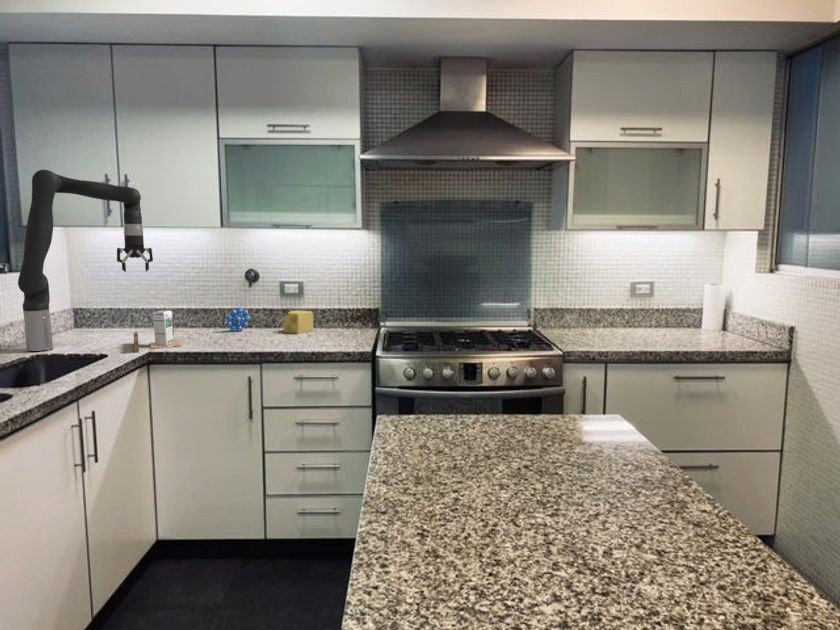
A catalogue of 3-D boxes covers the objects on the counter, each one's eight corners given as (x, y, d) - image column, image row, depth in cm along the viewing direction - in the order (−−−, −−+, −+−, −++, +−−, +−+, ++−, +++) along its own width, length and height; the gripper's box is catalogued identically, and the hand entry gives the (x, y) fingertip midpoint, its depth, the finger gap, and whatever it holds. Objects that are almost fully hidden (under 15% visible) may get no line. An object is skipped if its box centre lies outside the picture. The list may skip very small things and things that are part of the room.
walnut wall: (139, 352, 242) (138, 340, 241) (134, 352, 241) (133, 340, 241) (138, 343, 262) (137, 332, 261) (134, 343, 261) (133, 332, 260)
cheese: (283, 332, 286) (282, 312, 285) (299, 329, 295) (298, 309, 294) (298, 334, 281) (297, 313, 279) (314, 331, 289) (313, 311, 288)
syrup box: (166, 345, 253) (164, 312, 251) (154, 345, 254) (152, 311, 252) (174, 342, 258) (172, 310, 256) (162, 342, 259) (160, 310, 257)
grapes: (249, 329, 295) (248, 305, 293) (251, 331, 289) (250, 307, 287) (225, 331, 291) (224, 307, 289) (227, 333, 284) (225, 308, 283)
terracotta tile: (150, 349, 248) (150, 347, 248) (150, 344, 259) (149, 342, 259) (181, 346, 254) (181, 345, 254) (179, 341, 264) (179, 340, 264)
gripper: (151, 234, 262) (153, 270, 265) (115, 234, 256) (118, 271, 259) (151, 234, 255) (153, 271, 258) (115, 234, 249) (117, 272, 252)
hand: (135, 271), depth 258 cm, fingers open, 8 cm apart
